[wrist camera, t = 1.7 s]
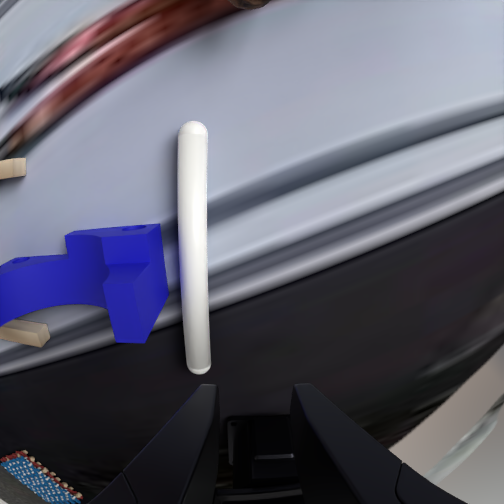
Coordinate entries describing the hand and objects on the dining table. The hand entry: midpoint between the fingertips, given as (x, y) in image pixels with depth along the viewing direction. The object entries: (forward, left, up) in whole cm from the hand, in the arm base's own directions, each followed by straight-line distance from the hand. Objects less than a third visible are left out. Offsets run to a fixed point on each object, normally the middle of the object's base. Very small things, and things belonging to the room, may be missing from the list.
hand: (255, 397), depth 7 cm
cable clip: (-1, +11, -12) cm, 17 cm away
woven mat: (-32, +28, -13) cm, 44 cm away
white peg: (0, +3, -12) cm, 12 cm away
